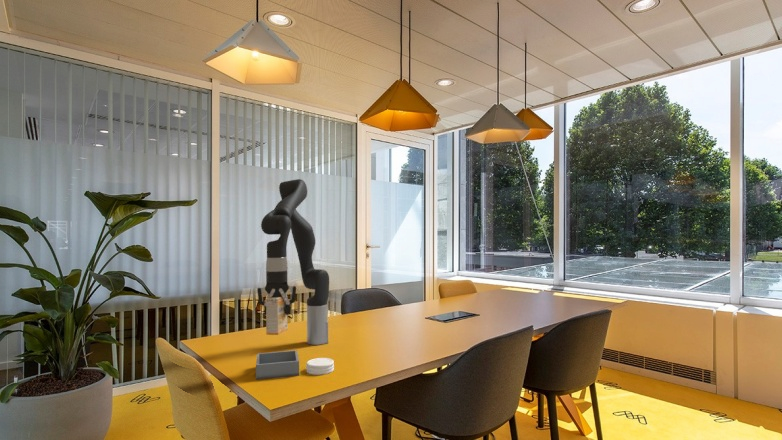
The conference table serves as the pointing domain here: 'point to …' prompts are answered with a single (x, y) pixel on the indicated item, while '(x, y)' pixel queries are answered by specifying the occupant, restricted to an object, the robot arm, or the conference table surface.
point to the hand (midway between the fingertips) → (277, 315)
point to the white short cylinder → (320, 366)
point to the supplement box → (276, 315)
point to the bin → (277, 364)
